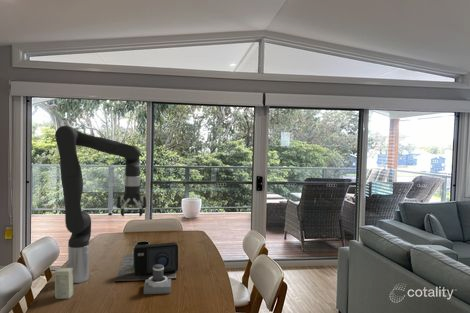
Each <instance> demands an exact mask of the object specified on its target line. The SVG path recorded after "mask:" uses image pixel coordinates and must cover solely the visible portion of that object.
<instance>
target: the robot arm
mask: <svg viewBox="0 0 470 313" xmlns="http://www.w3.org/2000/svg"><path fill="white" fill-rule="evenodd" d="M54 138H55V142H56V145H57V149H58V155H59V169H60V178H61V185H62V187H61V188H62V193H63V194H62V195H63V201H64V211H65V212H64V216H65V219H64V220H65V227H66V229H67V231H68V232H69V233H71V236H70V237H69V239H68V245H67V246H68V248H67V253H68V255H67V256H68V258H67V259H68V261H67V262H66V268H73V284H80V283H84V282H86V281H88V280H89V277H90V276H89V275H90V269H89V268H90V239H91V236H92V234H91V233H92V218H91V216H90V214H89V213H88V212H86V211H83V210H82V206H81V205H82V204H81V203H82V202H81V201H82V195H83V190H84V178H83V173H82V168H81V167H82V166H81V164H80V161H79V159H78V154H77V153H78V152H77V147H78V146H79V147H83V148H87V149H91V150H94V151H98V152H100V153H104V154H109V155H112V156H118V157H121V158H124V159H125V173H124V175H125V176H124V193H123V194H124V195H118V196H117V202H116V204H117V205H116V207H117V209H120V215H121V217H124V216H125V207H126V206H127V205H128V206H129V205H134V206H135V205H137V207H138V208H139V217H141V216H143V210H144V209H146V207H147V196H146V195H142V196H141V195H140V194H141V192H140V191H141V190H140V189H141V178H140V156H141V150H140V148H139V147H137V146H136V145H131V144H127V143H123V142H120V141H117V140H114V139H109V138H105V137H100V136H94V135H91V134H87V133H84V132H81V131H79V130H77V129H75V128H74V127H72V126H69V125H62V126H59V127H58V128H57V129H56V131H55V133H54ZM123 200H124V201H125V202H124V203H123V204H121V202H122V201H123ZM140 200H142V201H143V205H142V204H141V202H140Z"/></svg>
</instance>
